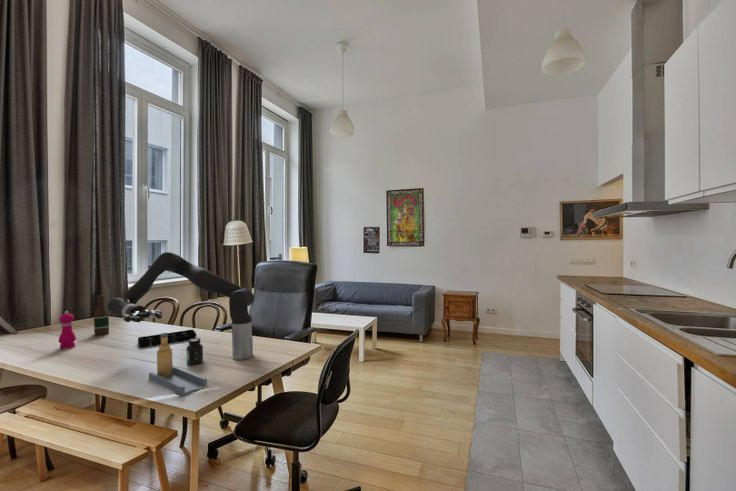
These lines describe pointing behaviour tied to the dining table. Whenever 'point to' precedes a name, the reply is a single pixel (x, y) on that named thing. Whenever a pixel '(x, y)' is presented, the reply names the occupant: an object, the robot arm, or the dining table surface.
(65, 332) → the pepper mill
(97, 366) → the dining table surface
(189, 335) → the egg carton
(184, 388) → the cradle
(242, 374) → the dining table surface
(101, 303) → the beer bottle
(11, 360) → the dining table surface
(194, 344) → the supplement bottle
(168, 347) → the bottle
